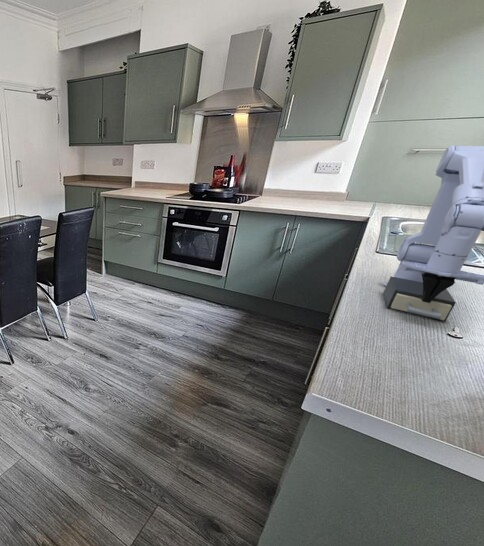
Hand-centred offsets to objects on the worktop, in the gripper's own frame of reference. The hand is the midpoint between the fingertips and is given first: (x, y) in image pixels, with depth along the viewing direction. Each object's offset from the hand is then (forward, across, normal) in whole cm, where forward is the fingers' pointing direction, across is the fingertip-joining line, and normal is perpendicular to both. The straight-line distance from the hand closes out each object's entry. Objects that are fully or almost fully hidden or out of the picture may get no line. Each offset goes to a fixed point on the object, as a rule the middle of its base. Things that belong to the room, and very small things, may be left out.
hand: (425, 301), depth 83 cm
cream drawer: (+5, 0, +5) cm, 7 cm away
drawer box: (+6, 0, +9) cm, 11 cm away
